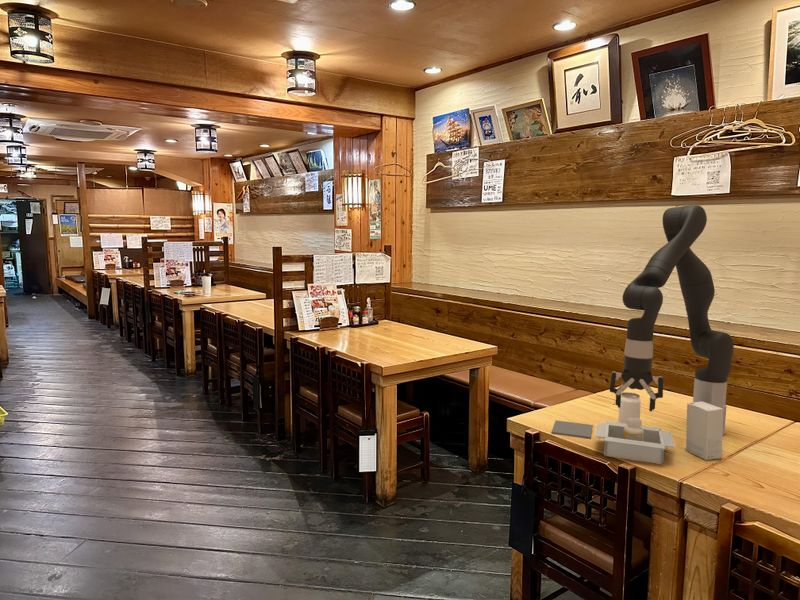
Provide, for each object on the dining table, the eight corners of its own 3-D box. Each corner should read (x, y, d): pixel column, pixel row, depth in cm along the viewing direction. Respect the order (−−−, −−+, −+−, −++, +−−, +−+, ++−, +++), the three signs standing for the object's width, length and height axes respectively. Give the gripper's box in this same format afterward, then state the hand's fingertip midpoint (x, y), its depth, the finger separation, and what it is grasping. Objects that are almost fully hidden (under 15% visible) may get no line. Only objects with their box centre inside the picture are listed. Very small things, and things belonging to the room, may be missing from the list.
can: (640, 434, 178) (643, 398, 177) (619, 433, 180) (621, 397, 178) (636, 427, 185) (638, 392, 183) (616, 426, 186) (618, 391, 184)
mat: (592, 426, 185) (592, 424, 185) (590, 439, 174) (590, 437, 174) (555, 421, 190) (555, 420, 190) (551, 433, 179) (551, 431, 178)
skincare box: (722, 459, 159) (726, 409, 158) (704, 461, 158) (708, 410, 156) (700, 448, 168) (704, 400, 166) (683, 449, 166) (686, 401, 164)
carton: (668, 446, 169) (670, 429, 168) (673, 469, 152) (675, 449, 152) (596, 436, 176) (597, 420, 175) (594, 457, 160) (595, 439, 159)
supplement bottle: (627, 446, 168) (629, 415, 167) (645, 452, 164) (647, 420, 163) (619, 451, 164) (621, 419, 163) (638, 457, 160) (640, 424, 159)
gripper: (664, 354, 162) (660, 408, 164) (612, 349, 167) (608, 402, 169) (666, 359, 155) (662, 416, 157) (611, 354, 160) (608, 409, 162)
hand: (634, 408), depth 163 cm, fingers open, 8 cm apart
